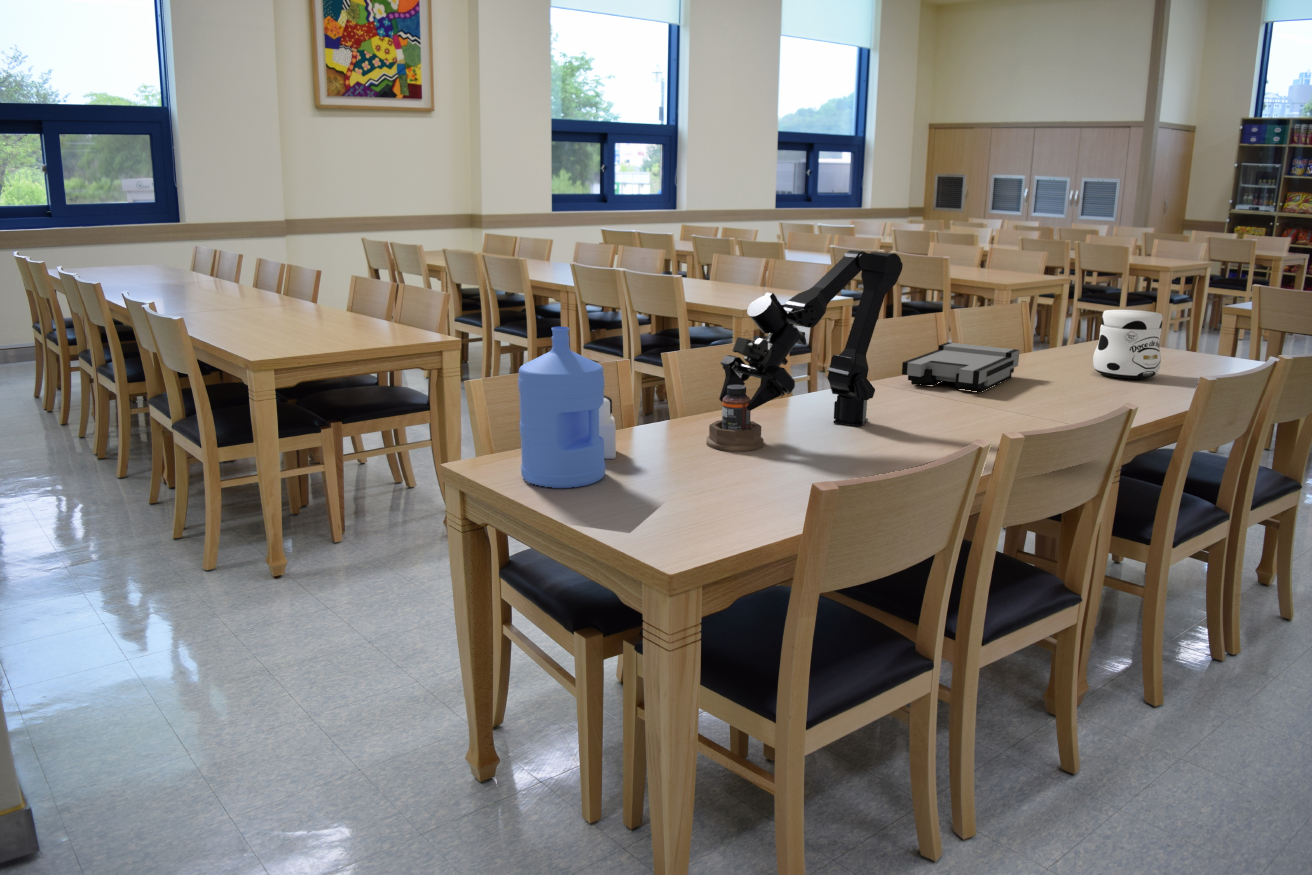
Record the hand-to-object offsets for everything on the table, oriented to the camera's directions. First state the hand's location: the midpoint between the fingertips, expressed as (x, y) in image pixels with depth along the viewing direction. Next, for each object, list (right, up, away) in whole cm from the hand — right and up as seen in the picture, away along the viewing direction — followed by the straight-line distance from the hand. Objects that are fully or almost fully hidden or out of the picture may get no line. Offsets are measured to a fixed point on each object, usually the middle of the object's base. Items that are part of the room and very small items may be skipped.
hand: (734, 405), depth 202 cm
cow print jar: (+117, +11, +75) cm, 139 cm away
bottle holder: (0, -8, +2) cm, 8 cm away
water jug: (-34, -14, -21) cm, 42 cm away
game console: (+68, +8, +66) cm, 95 cm away
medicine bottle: (-28, -10, -6) cm, 31 cm away
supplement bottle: (0, -7, +2) cm, 8 cm away
